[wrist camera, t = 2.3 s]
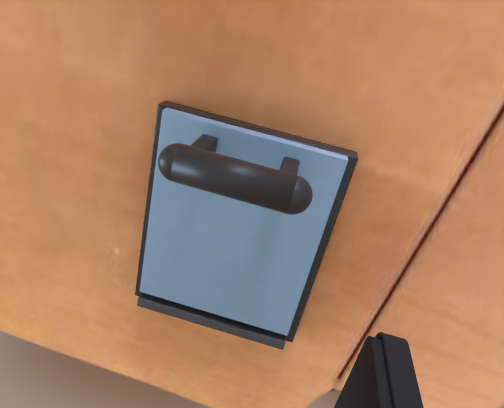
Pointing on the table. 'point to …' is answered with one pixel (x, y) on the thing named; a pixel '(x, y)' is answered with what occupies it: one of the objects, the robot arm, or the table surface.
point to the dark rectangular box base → (279, 339)
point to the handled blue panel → (236, 219)
